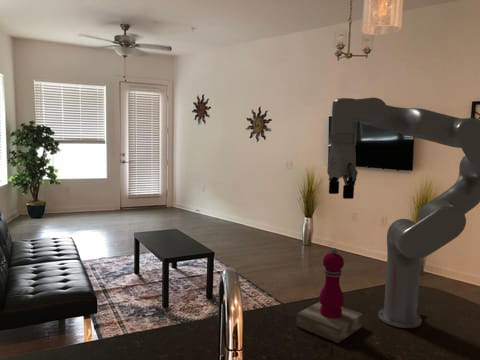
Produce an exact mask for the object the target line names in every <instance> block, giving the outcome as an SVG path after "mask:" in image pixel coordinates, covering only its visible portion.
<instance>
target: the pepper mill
mask: <svg viewBox="0 0 480 360" xmlns="http://www.w3.org/2000/svg"><path fill="white" fill-rule="evenodd" d="M322 264H323V266H324V269H323V271H324V272H323V273H324V275H325V281H324V284H323V287H322V289H321V291H320V293H319V296H318V302H320V303H321V305H322V306H321V307H320V313H321V315H323V316H324V317H327V318H339V317H341V315H342V309H341V308H340V307H343V306H344V304H345V296H344V293H343V291H342V288H341V285H340V278H341V276H342V272H343V271H342V268H344V265H345V259H344V257H343V256H342V255H341V254H339V253H338V250H337V248H335V247H332V248H331V249H330V252H329V253H327V254H325V255H324V257H323V259H322Z"/></svg>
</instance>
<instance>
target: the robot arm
mask: <svg viewBox="0 0 480 360" xmlns="http://www.w3.org/2000/svg"><path fill="white" fill-rule="evenodd" d="M331 105H332V108H331V126H330V127H331V128H330V147H329V153H328V160H327V161H328V162H327V175H328V181H329V182H328V194H330V195H338V194H340V193H339V191H340V180H339V179H341V178H342V179H343V183H344V184H343V186H342V190H343V191H342V199H346V200H350V199H351V200H353V199H354V195H355V186H356V181H357V177H358V173H359V172H358V170H357V166H356V165H357V159H356V158H357V157H356V156H357V155H356V153H357V152H356V146H357V138H358V137H357V135H358V133H357V132H358V123H361V124H363V125H366V126H371V127H373V128H378V129H382V130H385V131H390V132H394V133H398V134H401V135H403V136H407V137H411V138H416V139H419V140H425V141H428V142H431V143H435V144H440V145H442V146H448V147H452V148H457V149H461V150H462V152H463V153H464V156H463V157H462V158H461V160H460V162H459V169H458V170H459V171H458V172H459V173H458V177H457V180H456V182H455V183H454V184H453V185H452V186H451V187H449V188H448V189H447V190H445V191H443V192H442V193H440V194H439V195H438V196H436V197H434V198H433V199H431V200H430V201H428V202H427V203H425V204H424V205H422V207H421V208H420V210H419V213H418V217H419V221H417V222H416V221H413V220H410V219H407V218H400V219H399V218H398V219H396V220H394V221H393V222H392V223H391V224H390V225H389V227H388V229H387V232H386V247H387V249H386V250H387V252H386V253H387V258H386V259H387V260H386V274H385V288H384V289H385V290H384V300H383V301H384V304H383V308H381V309H380V310H378V315H377V316H378V319H379V320H381V322H383V323H385V324H387V325H389V326H392V327H396V328H401V329H414V328H415V329H416V328H418V327H420V326H421V325H422V322H423V320H422V317H421V316H420V315H419V314H418V313H417V312H418V306H419V300H418V299H419V287H420V274H421V260H422V259H424V258H427V257H428V256H430V255H432V254H433V253H435V252H437V250H440V249H441V248H442V247H444V246H446V245H447V244H449V243H450V242H452V241H453V240H455V239H456V238H458V237H459V236H460V235H461V234H462V233H463V231H464V230H465V228H466V224H467V217H466V214H467V213H469V212H470V211H471V210H473V209H474V208H475V207H477V206H478V205H479V204H480V120H479V119H477V118H475V117H474V118H473V117H464V118H461V117H455V116H453V115H452V116H451V115H447V114H444V113H440V112H436V111H432V110H429V109H425V108H416V107H413V108H412V107H408V108H407V107H397V106H392V105H387V104H386V102H385V101H384V100H383V99H381V98H378V97H364V98H350V97H342V98H336V99H334V100H333V101H332V104H331Z"/></svg>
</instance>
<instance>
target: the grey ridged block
mask: <svg viewBox="0 0 480 360" xmlns="http://www.w3.org/2000/svg"><path fill="white" fill-rule="evenodd" d="M321 306H322V305H321V303H320V302H319V301H318V302H316V303H314V304H312V305H310V306H308V307H306V308H305V309H302V310H300V311H298V312H297V313H296V325H295V326H296V327H297V328H300V329H303V330H305V331H307V332H310V333H313V334H314V335H317V336H320V337H322V338H324V339H327V340H329V341H332V342H334V343H337V344H339V343H341V342H342V341H344V340H345V339H346V338H348V337H349V336H352V334H354V333H355V332H357V331H358V330H359V329H361V328H363V320H364V319H363V318H364V317H363V315H364V314H363V313H361V312H358V311H356V310H354V309H353V310H352V309H350V308H346V307H344V306H341V307H340V308H341V309H342V315H341V317H339V318H327V317H324V316H323V315H321V313H320V307H321Z"/></svg>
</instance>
